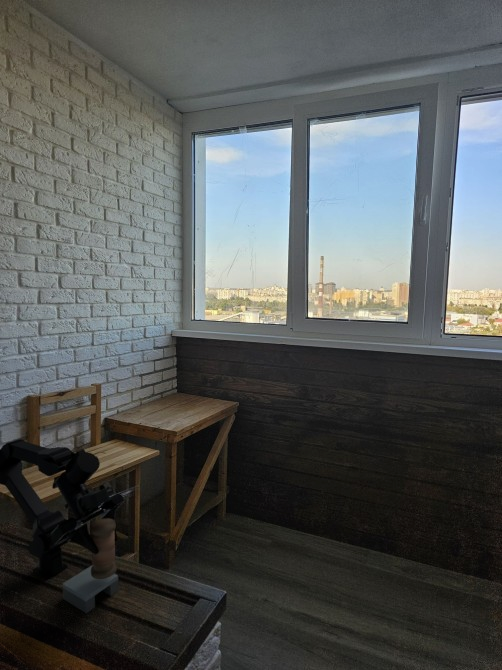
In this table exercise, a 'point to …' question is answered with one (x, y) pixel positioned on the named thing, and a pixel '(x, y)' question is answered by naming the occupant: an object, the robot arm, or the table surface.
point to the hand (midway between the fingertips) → (107, 547)
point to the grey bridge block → (88, 589)
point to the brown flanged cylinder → (103, 548)
